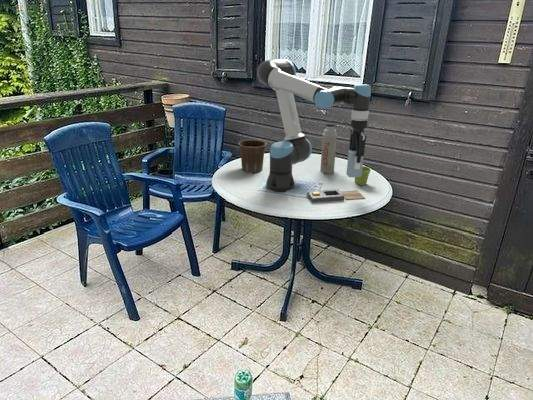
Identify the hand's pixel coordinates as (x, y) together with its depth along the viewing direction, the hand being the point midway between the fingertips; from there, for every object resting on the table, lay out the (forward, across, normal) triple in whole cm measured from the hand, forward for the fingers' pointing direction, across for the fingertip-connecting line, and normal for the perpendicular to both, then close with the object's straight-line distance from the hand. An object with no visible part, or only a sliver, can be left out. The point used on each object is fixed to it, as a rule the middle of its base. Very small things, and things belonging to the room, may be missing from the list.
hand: (354, 167), depth 191 cm
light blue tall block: (+4, 0, 0) cm, 4 cm away
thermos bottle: (+16, +40, -1) cm, 43 cm away
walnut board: (+16, 0, 0) cm, 16 cm away
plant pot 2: (+16, +17, -12) cm, 26 cm away
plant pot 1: (+16, +50, +42) cm, 67 cm away
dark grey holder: (+16, 0, +14) cm, 21 cm away
